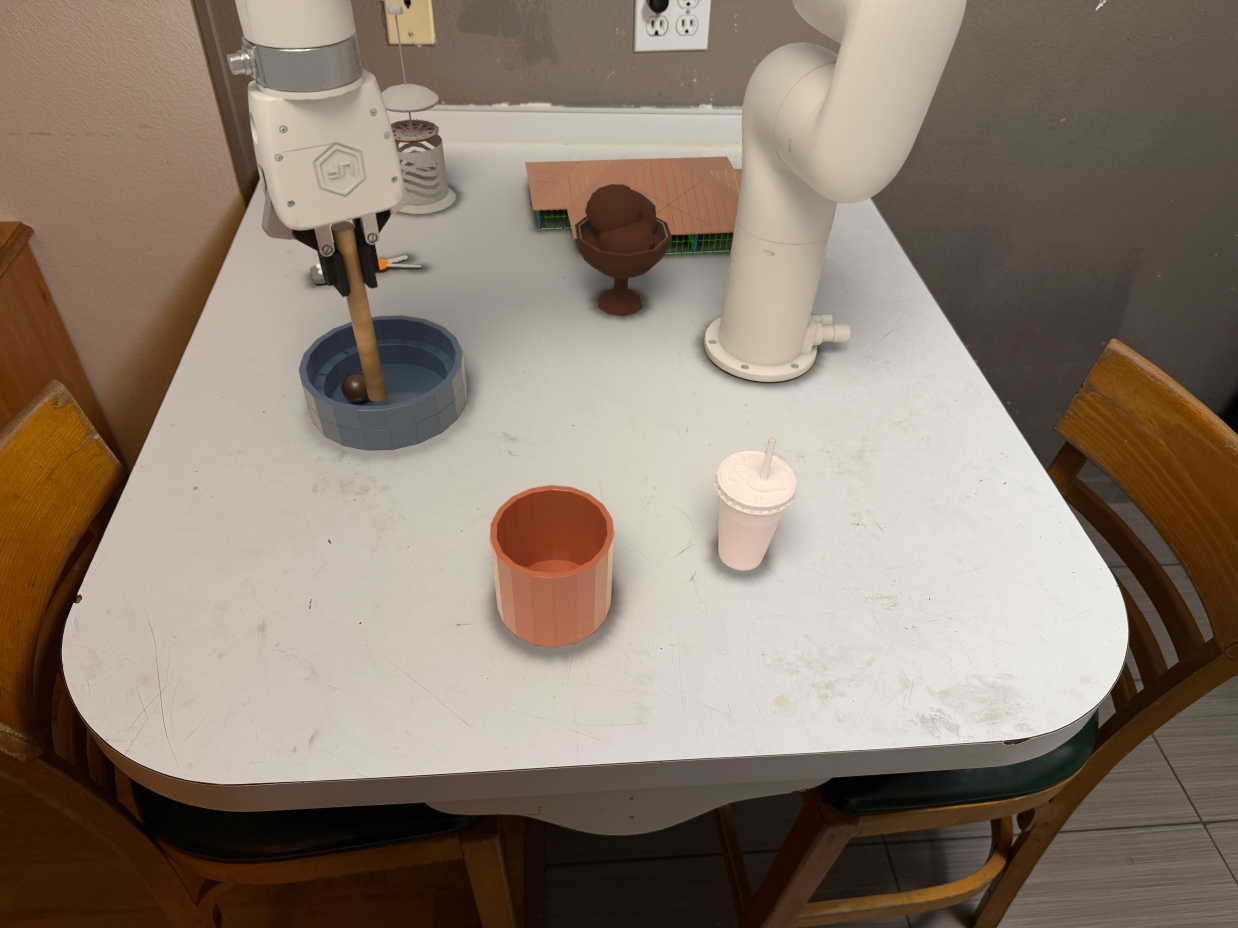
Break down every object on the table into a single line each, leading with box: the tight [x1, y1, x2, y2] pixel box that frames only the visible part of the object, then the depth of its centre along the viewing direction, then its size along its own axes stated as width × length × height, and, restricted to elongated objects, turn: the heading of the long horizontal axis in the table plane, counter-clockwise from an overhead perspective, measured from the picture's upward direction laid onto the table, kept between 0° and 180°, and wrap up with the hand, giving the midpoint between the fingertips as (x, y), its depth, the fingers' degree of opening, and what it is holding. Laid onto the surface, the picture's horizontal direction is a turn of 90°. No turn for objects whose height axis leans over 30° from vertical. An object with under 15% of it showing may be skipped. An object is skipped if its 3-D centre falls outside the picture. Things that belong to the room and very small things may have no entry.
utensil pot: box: [489, 484, 615, 648], centre depth 63 cm, size 9×9×9 cm
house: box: [524, 155, 742, 255], centre depth 112 cm, size 23×33×8 cm
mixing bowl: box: [298, 314, 468, 451], centre depth 81 cm, size 15×15×6 cm
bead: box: [341, 373, 368, 403], centre depth 81 cm, size 3×3×3 cm
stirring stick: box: [330, 220, 387, 402], centre depth 73 cm, size 2×2×18 cm
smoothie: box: [713, 435, 798, 571], centre depth 65 cm, size 6×6×14 cm
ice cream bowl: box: [575, 184, 673, 317], centre depth 93 cm, size 11×11×15 cm
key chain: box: [309, 254, 422, 285], centre depth 101 cm, size 13×4×2 cm, turn 114°
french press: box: [381, 2, 457, 215], centre depth 107 cm, size 10×12×25 cm
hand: (354, 284), depth 71 cm, fingers closed on stirring stick, 1 cm apart
